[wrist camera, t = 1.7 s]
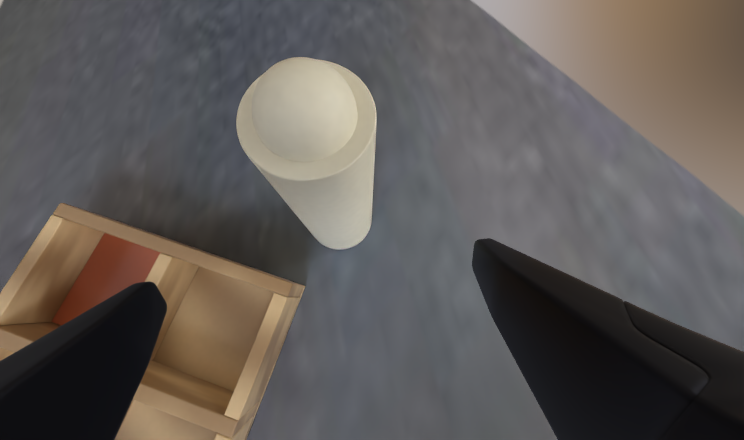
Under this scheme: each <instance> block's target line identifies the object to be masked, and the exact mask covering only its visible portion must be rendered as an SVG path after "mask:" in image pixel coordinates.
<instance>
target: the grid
mask: <svg viewBox="0 0 744 440" xmlns="http://www.w3.org/2000/svg"><path fill="white" fill-rule="evenodd" d="M53 214H54V215H51V217H50V218H49V220H48V221H47V223H46V225H45V226H44V228H43V229H42V231H41V232H40V234H39V235H38V237H37V238H36V240H35V241H34V243H33V244H32V246H31V247H30V249H29V250H28V252H27V253H26V255H25V256H24V258H23V259H22V261H21V262H20V264H19V265H18V267H17V269H16V270H15V272H14V273H13V275H12V276H11V278H10V279H9V281H8V282H7V284H6V285H5V287H4V288H3V290H2V291H1V293H0V361H1V360H3V359H5V358H6V357H8V356H10V355H11V354H13V353H15V352H17V351H18V350H20V349H22V348H24V347H25V346H27V345H29V344H30V343H32V342H34V341H36V340H37V339H39V338H41V337H43V336H44V335H46V334H48V333H49V332H51V331H53V330H55V329H56V328H58V327H60V326H62V325H63V324H65V323H67V322H68V321H70V320H72V319H74V318H75V317H77V316H79V315H81V314H82V313H84V312H86V311H87V310H89V309H91V308H93V307H94V306H96V305H98V304H100V303H101V302H103V301H105V300H106V299H108V298H110V297H112V296H113V295H115V294H117V293H119V292H120V291H122V290H124V289H125V288H127V287H129V286H131V285H132V284H135V283H140V282H148V281H150V282H153V283H155V284H156V286H157V287H158V289H159V291H160V293H161V294H162V296H163V298H164V299H165V301H166V303H167V313H166V316H165V318H164V321H163V324H162V327H161V330H160V333H159V336H158V339H157V342H156V345H155V348H154V351H153V353H152V356H151V359H150V362H149V364H148V367H147V369H146V371H145V374H144V376H143V378H142V380H141V382H140V385H139V387H138V389H137V391H136V393H135V396H134V398H133V400H132V402H131V404H130V407H129V409H128V411H127V413H126V415H125V417H124V420H123V422H122V424H121V426H120V428H119V431H118V433H117V435H116V437H115V439H114V440H246V439H247V437H248V434H249V432H250V429H251V426H252V424H253V421H254V419H255V416H256V413H257V411H258V408H259V406H260V403H261V400H262V398H263V395H264V393H265V390H266V387H267V385H268V382H269V380H270V377H271V374H272V372H273V369H274V367H275V364H276V361H277V359H278V356H279V354H280V351H281V348H282V346H283V343H284V341H285V338H286V336H287V333H288V330H289V328H290V325H291V323H292V320H293V317H294V315H295V312H296V310H297V307H298V304H299V302H300V299H301V297H302V294H303V291H304V289H305V286H304V285H301V284H298V283H295V282H292V281H289V280H287V279H284V278H281V277H278V276H275V275H272V274H269V273H266V272H263V271H261V270H258V269H255V268H252V267H249V266H246V265H243V264H240V263H238V262H235V261H232V260H229V259H226V258H223V257H220V256H217V255H215V254H212V253H209V252H206V251H203V250H200V249H197V248H194V247H192V246H189V245H186V244H183V243H180V242H177V241H174V240H171V239H168V238H166V237H163V236H160V235H157V234H154V233H151V232H148V231H145V230H143V229H140V228H137V227H134V226H131V225H128V224H125V223H122V222H120V221H117V220H114V219H111V218H108V217H105V216H102V215H99V214H96V213H92V212H89V211H86V210H83V209H80V208H77V207H74V206H71V205H68V204H64V203H60V204H59V205H58V207H57V208H56V210H55V211H54V213H53Z"/></svg>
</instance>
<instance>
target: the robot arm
mask: <svg viewBox="0 0 744 440" xmlns="http://www.w3.org/2000/svg"><path fill="white" fill-rule="evenodd" d="M472 267H473V271H474V274H475V276H476V279H477V281H478V284H479V286H480V289H481V291H482V294H483V296H484V299H485V301H486V304H487V306H488V309H489V311H490V313H491V316H492V318H493V320H494V322H495V324H496V326H497V327H498V329H499V331H500V333H501V335H502V337H503V339H504V340H505V342H506V344H507V346H508V348H509V350H510V352H511V353H512V355H513V357H514V359H515V361H516V363H517V365H518V366H519V368H520V370H521V372H522V374H523V376H524V378H525V379H526V381H527V383H528V385H529V387H530V389H531V391H532V392H533V394H534V396H535V398H536V400H537V402H538V404H539V405H540V407H541V409H542V411H543V413H544V415H545V417H546V418H547V420H548V422H549V424H550V426H551V428H552V430H553V431H554V433H555V435H556V437H557V439H558V440H744V352H742V351H740V350H737V349H735V348H733V347H730V346H728V345H725V344H723V343H720V342H718V341H715V340H713V339H711V338H708V337H706V336H703V335H701V334H699V333H696V332H694V331H691V330H689V329H687V328H684V327H682V326H679V325H677V324H675V323H672V322H670V321H668V320H666V319H664V318H661V317H659V316H657V315H655V314H652V313H650V312H648V311H646V310H644V309H641V308H639V307H637V306H635V305H633V304H631V303H629V302H626V301H624V302H623V301H622V299H620V298H618V297H616V296H613V295H611V294H609V293H607V292H605V291H603V290H600V289H598V288H596V287H594V286H592V285H590V284H588V283H585V282H583V281H581V280H579V279H577V278H575V277H572V276H570V275H568V274H566V273H564V272H562V271H560V270H557V269H555V268H553V267H551V266H549V265H547V264H544V263H542V262H540V261H538V260H536V259H534V258H532V257H529V256H527V255H525V254H523V253H521V252H519V251H516V250H514V249H512V248H510V247H508V246H506V245H504V244H501V243H499V242H497V241H495V240H493V239H490V238H488V239H480V240H477V241H475V244H474V251H473V259H472ZM166 313H167V303H166V301H165V299H164V298H163V296H162V294H161V293H160V291H159V289H158V287H157V286H156V284H155V283H153V282H150V281H148V282H140V283H135V284H132V285H131V286H129V287H127V288H125V289H124V290H122V291H120V292H119V293H117V294H115V295H113V296H112V297H110V298H108V299H106V300H105V301H103V302H101V303H100V304H98V305H96V306H94V307H93V308H91V309H89V310H87V311H86V312H84V313H82V314H81V315H79V316H77V317H75V318H74V319H72V320H70V321H68V322H67V323H65V324H63V325H62V326H60V327H58V328H56V329H55V330H53V331H51V332H49V333H48V334H46V335H44V336H43V337H41V338H39V339H37V340H36V341H34V342H32V343H30V344H29V345H27V346H25V347H24V348H22V349H20V350H18V351H17V352H15V353H13V354H11V355H10V356H8V357H6V358H5V359H3V360H1V361H0V440H114V439H115V437H116V435H117V433H118V431H119V428H120V426H121V424H122V422H123V420H124V417H125V415H126V413H127V411H128V409H129V407H130V404H131V402H132V400H133V398H134V396H135V393H136V391H137V389H138V387H139V385H140V382H141V380H142V378H143V376H144V374H145V371H146V369H147V367H148V364H149V362H150V359H151V356H152V353H153V351H154V348H155V345H156V342H157V339H158V336H159V333H160V330H161V327H162V324H163V321H164V318H165V316H166Z"/></svg>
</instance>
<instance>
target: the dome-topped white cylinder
mask: <svg viewBox="0 0 744 440" xmlns="http://www.w3.org/2000/svg"><path fill="white" fill-rule="evenodd" d="M376 122H377V118H376V107H375V103H374V100H373V97H372V95H371V93H370V91H369V90H368V88H367V87H366V85H365V84H364V83H363V82H362V81H361V80H360V78H359V77H357V76H356V75H355V74H354V73H352V72H351V71H349V70H348V69H346V68H344V67H342V66H340V65H338V64H335V63H332V62H328V61H324V60H316V59H312V58H306V57H295V58H289V59H286V60H283V61H280V62H278V63H276V64H275V65H273V66H272V67H270V68H269V69H268V70H267V71H266V72H265V73H264V74H263V75H261V76H260V77H259V78H258V79H257V80H255V81H254V82H253V83H252V85H251V86H250V87H249V88H248V89H247V91H246V93H245V94H244V96H243V98H242V100H241V102H240V105H239V108H238V112H237V119H236V123H237V134H238V138H239V141H240V144H241V146H242V148H243V150H244V152H245V153H246V154H247V156H248V157H249V158H250V160H251V161H252V162H253V163H254V164H255V166H256V167H257V168H258V169H259V171H260V172H261V173H262V174H263V175H264V177H265V178H266V179H267V180H268V181H269V183H270V184H271V185H272V186H273V187H274V189H275V190H276V191H277V192H278V194H279V195H280V196H281V197H282V198H283V200H284V201H285V202H286V203H287V204H288V206H289V207H290V208H291V209H292V210H293V212H294V213H295V214H296V215H297V217H298V218H299V219H300V220H301V221H302V223H303V224H304V225H305V226H306V227H307V229H308V230H309V231H310V232H311V233H312V235H313V236H314V237H315V238H316V239H317V240H318V241H319V242H320V243H321V244H322V245H324V246H326V247H328V248H332V249H337V250H342V249H348V248H351V247H353V246H355V245H357V244H358V243H360V242H361V241H362V240H363V239H364V238H365V237H366V235H367V234H368V232H369V229H370V226H371V220H372V201H373V181H374V161H375V141H376Z"/></svg>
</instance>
